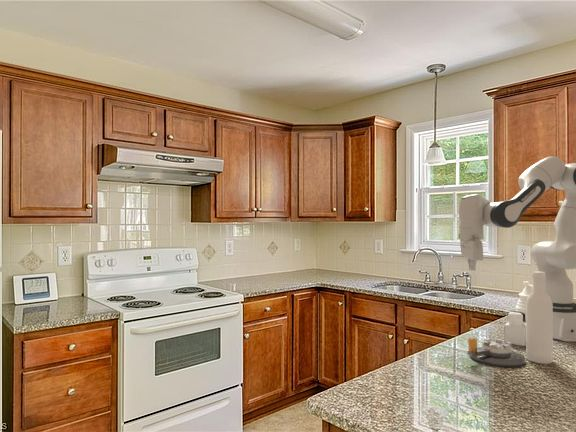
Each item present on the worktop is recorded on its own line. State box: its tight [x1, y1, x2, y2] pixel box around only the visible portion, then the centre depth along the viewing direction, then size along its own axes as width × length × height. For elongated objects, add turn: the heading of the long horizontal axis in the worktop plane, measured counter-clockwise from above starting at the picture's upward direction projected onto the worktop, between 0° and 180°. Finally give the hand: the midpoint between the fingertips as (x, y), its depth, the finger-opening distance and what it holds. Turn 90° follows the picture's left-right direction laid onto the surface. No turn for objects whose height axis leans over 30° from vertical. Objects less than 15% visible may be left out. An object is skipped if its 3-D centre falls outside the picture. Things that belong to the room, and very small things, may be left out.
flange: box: [469, 346, 526, 368], centre depth 148 cm, size 17×17×2 cm
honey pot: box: [515, 280, 533, 322], centre depth 209 cm, size 13×13×18 cm
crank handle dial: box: [466, 337, 512, 358], centre depth 146 cm, size 17×9×6 cm, turn 114°
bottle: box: [525, 271, 554, 365], centre depth 147 cm, size 8×8×30 cm
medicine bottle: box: [503, 310, 526, 347], centre depth 168 cm, size 7×7×12 cm
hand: (472, 269), depth 171 cm, fingers closed
